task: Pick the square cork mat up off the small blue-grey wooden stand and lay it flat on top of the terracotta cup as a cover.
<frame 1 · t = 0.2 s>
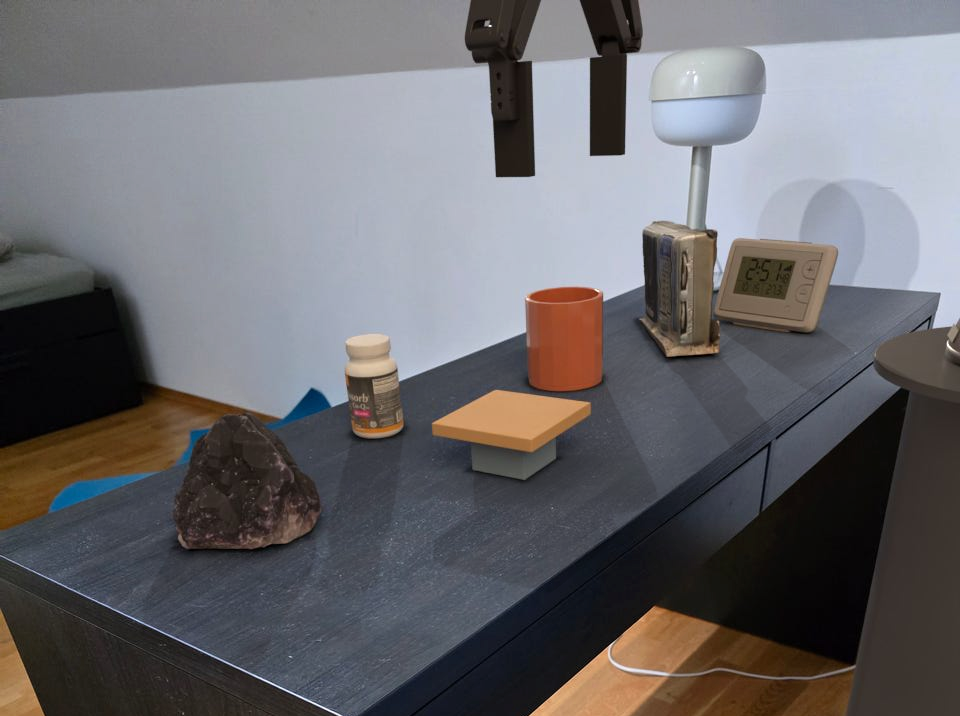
hand: (564, 165, 64), 26 cm above the table, tool pointing down, fingers open, 13 cm apart
cup: (565, 380, 108), on the table
pill bottle: (379, 433, 97), on the table
radio: (669, 339, 121), on the table
stand: (514, 464, 86), on the table
mat: (512, 424, 84), point 4 cm above the table, touching stand
digital clock: (768, 326, 124), on the table
crystal cluster: (251, 527, 79), on the table
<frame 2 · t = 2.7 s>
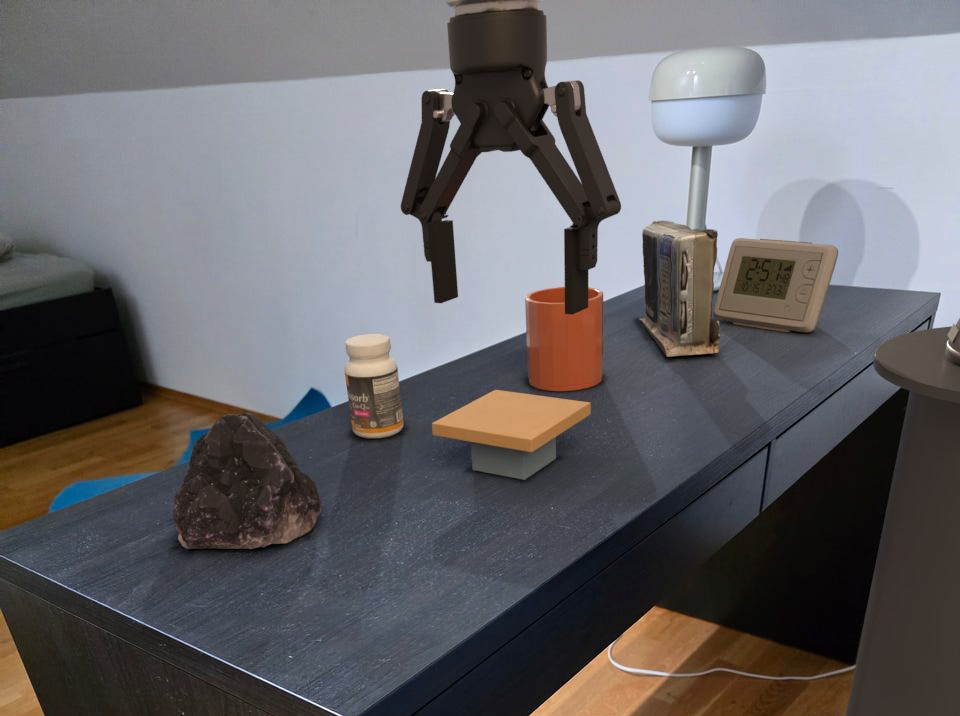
hand: (508, 305, 78), 15 cm above the table, tool pointing down, fingers open, 13 cm apart
nothing on the table moved.
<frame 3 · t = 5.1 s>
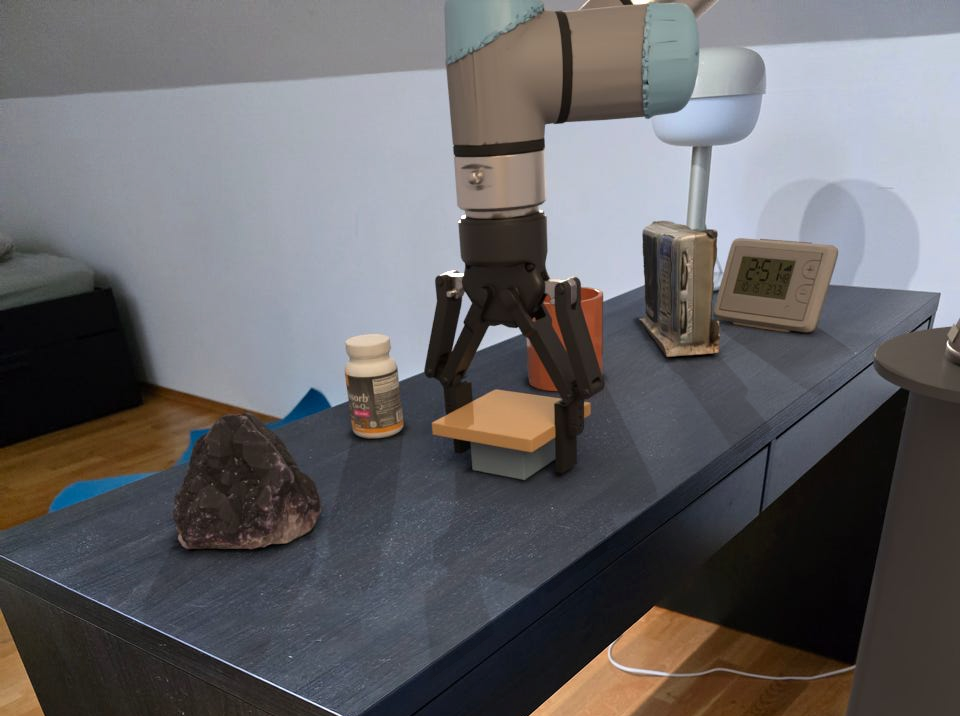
hand: (514, 458, 86), 1 cm above the table, tool pointing down, fingers closed on mat, 11 cm apart
mat: (512, 424, 84), point 4 cm above the table, touching gripper, stand
everything else where it was.
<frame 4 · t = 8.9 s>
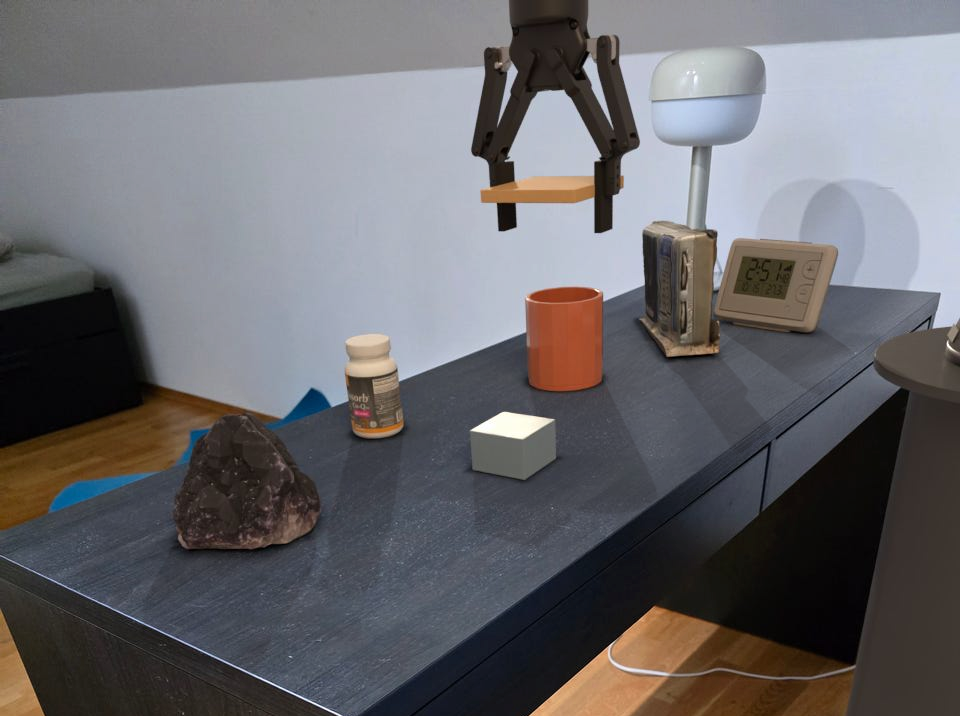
hand: (554, 230, 94), 18 cm above the table, tool pointing down, fingers closed on mat, 11 cm apart
mat: (553, 195, 92), point 21 cm above the table, touching gripper
everything else where it was.
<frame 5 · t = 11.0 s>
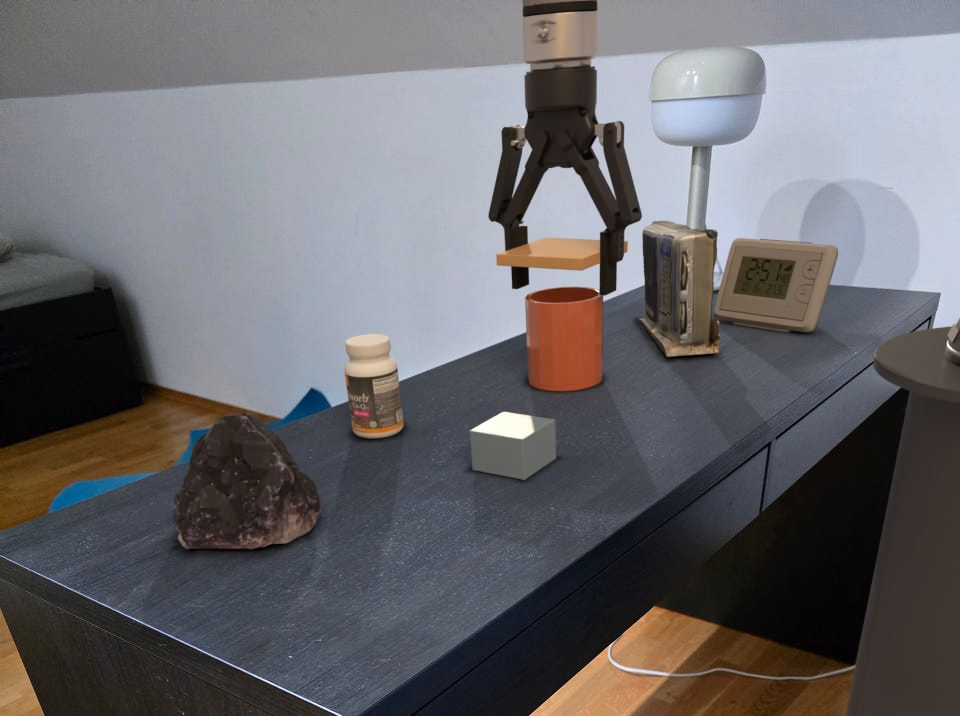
hand: (563, 289, 103), 11 cm above the table, tool pointing down, fingers closed on mat, 11 cm apart
mat: (562, 258, 101), point 14 cm above the table, touching gripper
everything else where it was.
when the fingers open (7 cm above the table, at t = 12.8 s): mat stays where it is, resting on cup.
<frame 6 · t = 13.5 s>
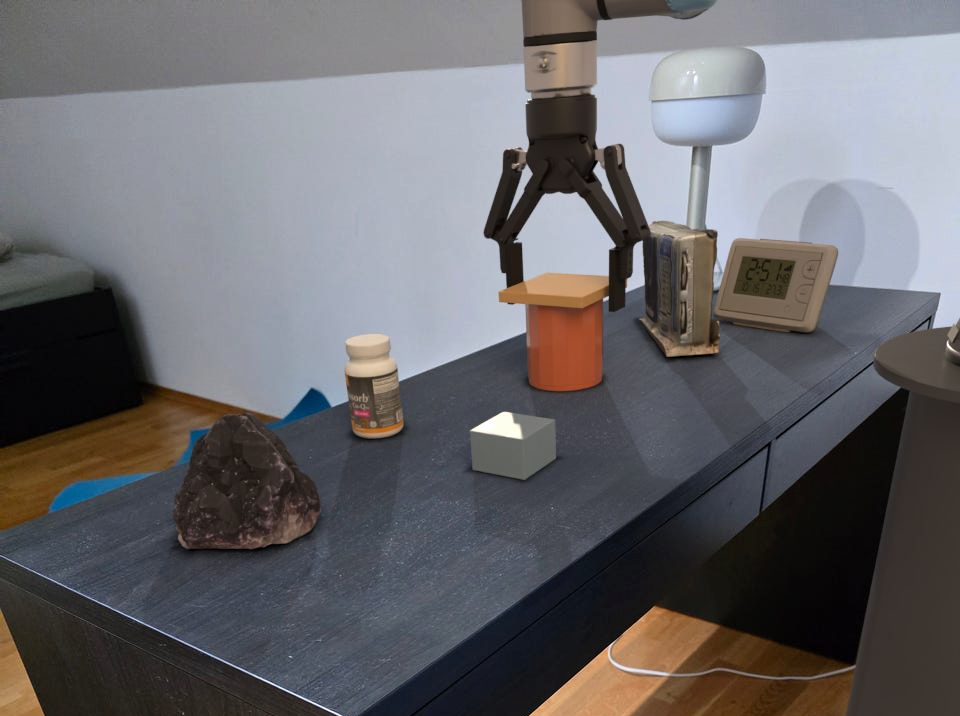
hand: (564, 305, 104), 9 cm above the table, tool pointing down, fingers open, 13 cm apart
cup: (565, 380, 108), on the table, touching mat
mat: (563, 294, 103), point 10 cm above the table, touching cup
everything else where it was.
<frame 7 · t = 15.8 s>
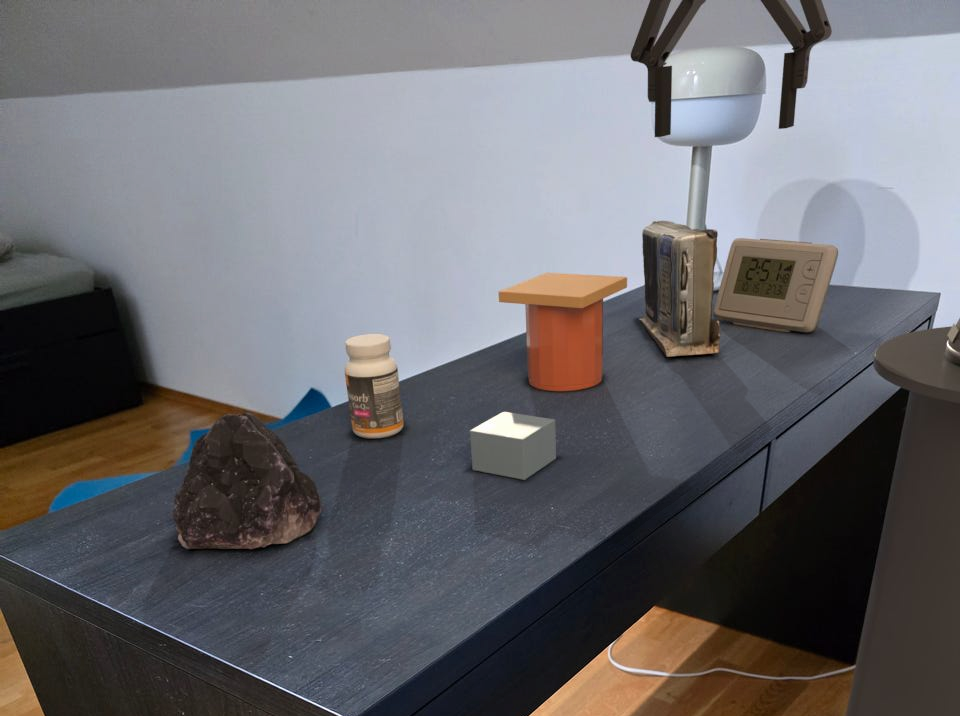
hand: (722, 132, 94), 25 cm above the table, tool pointing down, fingers open, 13 cm apart
nothing on the table moved.
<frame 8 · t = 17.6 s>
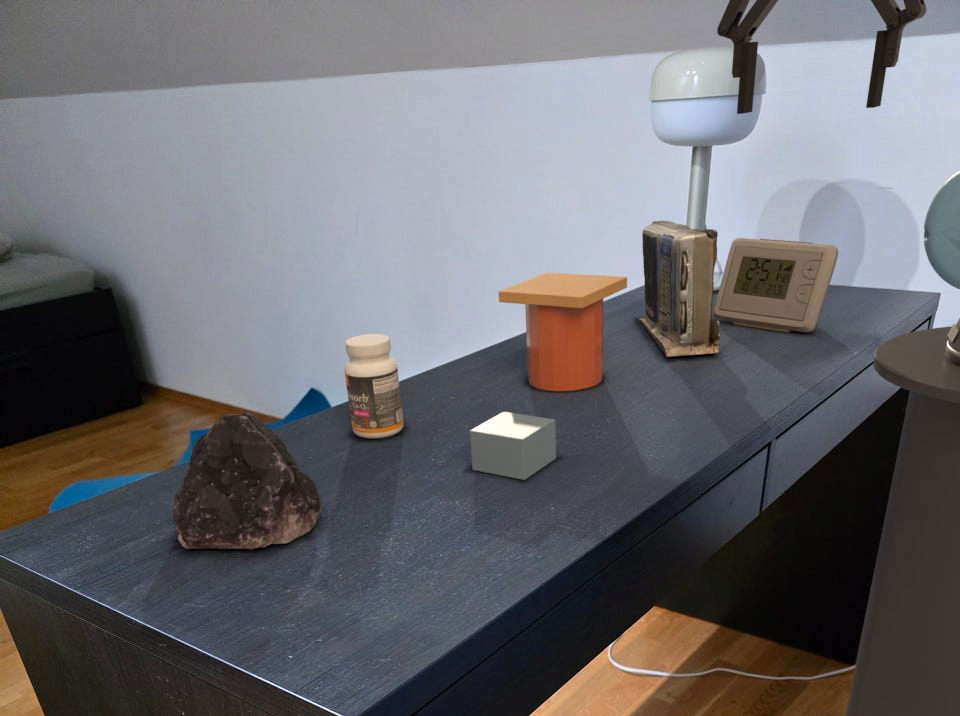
hand: (806, 110, 94), 27 cm above the table, tool pointing down, fingers open, 13 cm apart
nothing on the table moved.
at the end: mat 0.1 cm off-centre on the cup, point 10.0 cm above the cup's base; mat tilted 0°; the gripper is holding nothing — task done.
